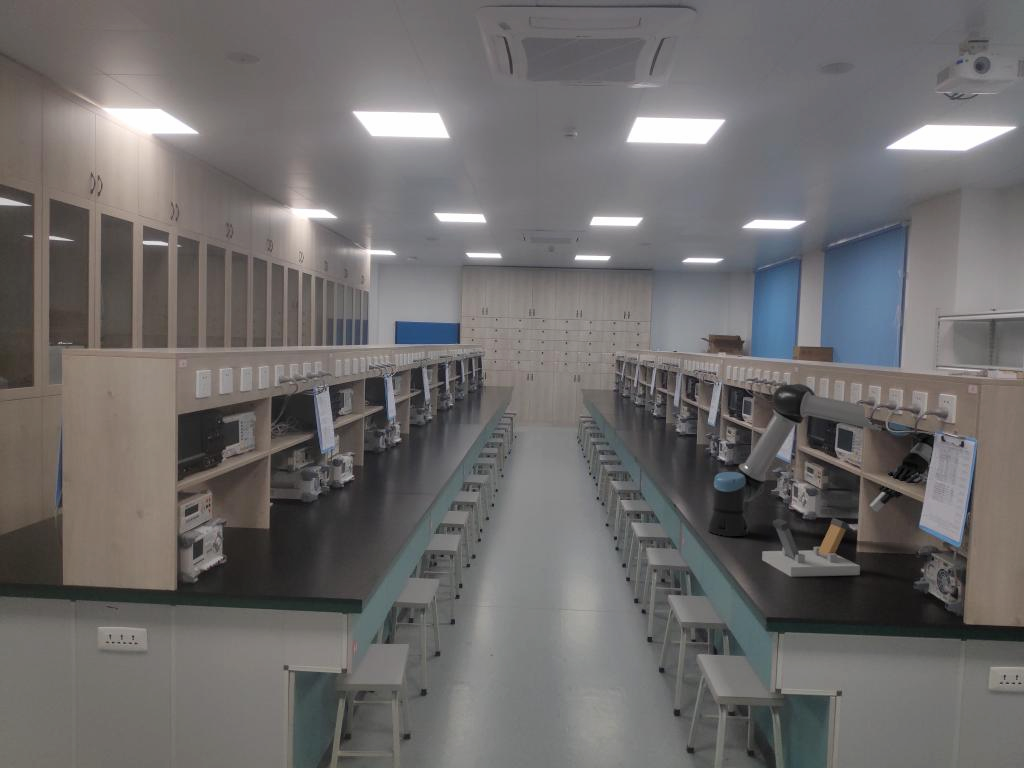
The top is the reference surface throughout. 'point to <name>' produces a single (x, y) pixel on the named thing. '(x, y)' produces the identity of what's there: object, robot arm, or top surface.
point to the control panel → (810, 563)
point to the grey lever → (786, 537)
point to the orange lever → (833, 537)
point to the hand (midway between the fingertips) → (873, 508)
